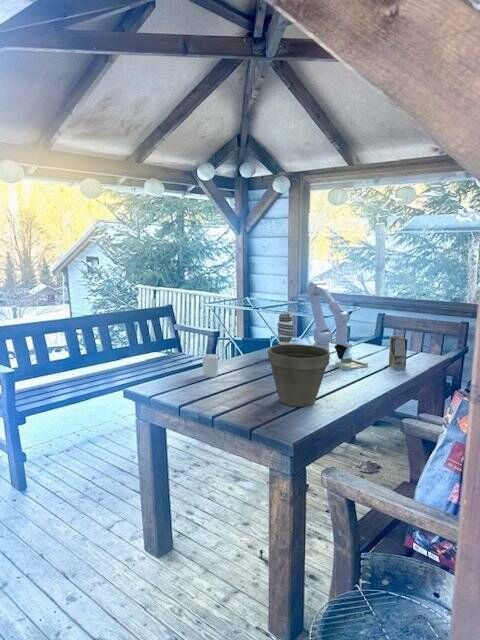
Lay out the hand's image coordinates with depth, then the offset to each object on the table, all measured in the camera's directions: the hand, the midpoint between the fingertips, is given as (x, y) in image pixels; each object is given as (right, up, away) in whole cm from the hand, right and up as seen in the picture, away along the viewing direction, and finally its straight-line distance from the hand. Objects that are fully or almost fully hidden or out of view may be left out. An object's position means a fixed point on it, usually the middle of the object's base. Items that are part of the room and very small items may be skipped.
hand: (340, 358), depth 248 cm
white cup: (-69, -7, -22) cm, 73 cm away
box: (+4, -4, -7) cm, 9 cm away
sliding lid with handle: (+4, -4, -7) cm, 9 cm away
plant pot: (-31, -13, -60) cm, 69 cm away
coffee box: (+28, -4, -7) cm, 30 cm away
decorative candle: (-28, 0, +20) cm, 35 cm away
